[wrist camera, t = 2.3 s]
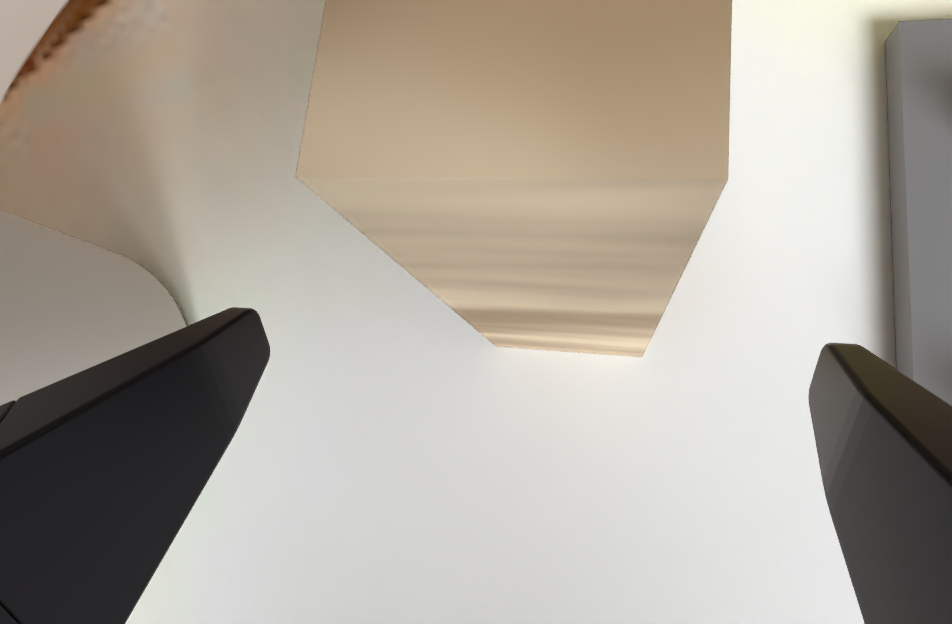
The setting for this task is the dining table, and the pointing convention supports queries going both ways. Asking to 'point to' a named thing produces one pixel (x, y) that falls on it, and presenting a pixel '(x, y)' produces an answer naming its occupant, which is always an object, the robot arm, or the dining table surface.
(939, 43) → the plate
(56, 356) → the cylinder vase
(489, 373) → the dining table surface
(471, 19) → the maple block
